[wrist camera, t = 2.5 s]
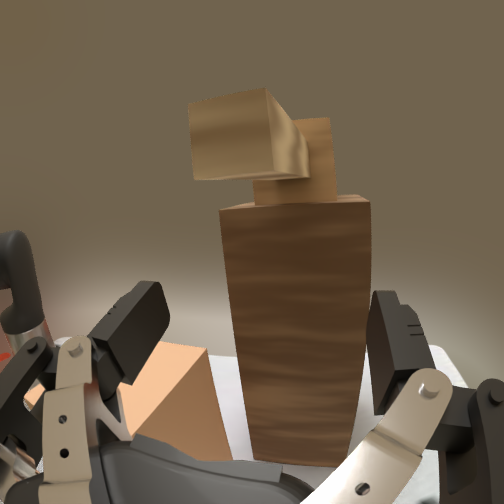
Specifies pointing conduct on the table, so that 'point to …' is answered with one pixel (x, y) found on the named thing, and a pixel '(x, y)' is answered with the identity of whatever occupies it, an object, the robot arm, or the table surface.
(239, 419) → the table surface
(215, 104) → the mallet
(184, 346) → the pedestal
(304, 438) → the walnut block
